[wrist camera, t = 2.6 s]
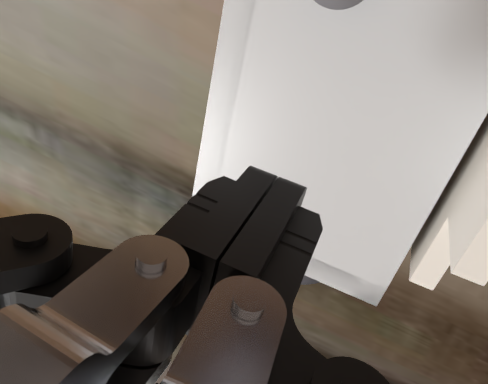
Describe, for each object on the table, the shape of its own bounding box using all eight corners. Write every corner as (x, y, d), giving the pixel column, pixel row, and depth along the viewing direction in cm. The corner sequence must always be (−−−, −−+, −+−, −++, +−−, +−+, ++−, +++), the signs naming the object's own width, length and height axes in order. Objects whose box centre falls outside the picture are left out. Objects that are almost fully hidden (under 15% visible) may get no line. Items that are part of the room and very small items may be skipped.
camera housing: (324, -130, 21) (238, -189, 12) (536, -83, 19) (630, -110, 10) (247, 177, 31) (171, 271, 22) (379, 229, 29) (354, 356, 20)
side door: (516, -19, 20) (614, 23, 9) (543, -12, 19) (678, 39, 9) (415, 176, 26) (401, 340, 15) (435, 183, 25) (435, 355, 15)
